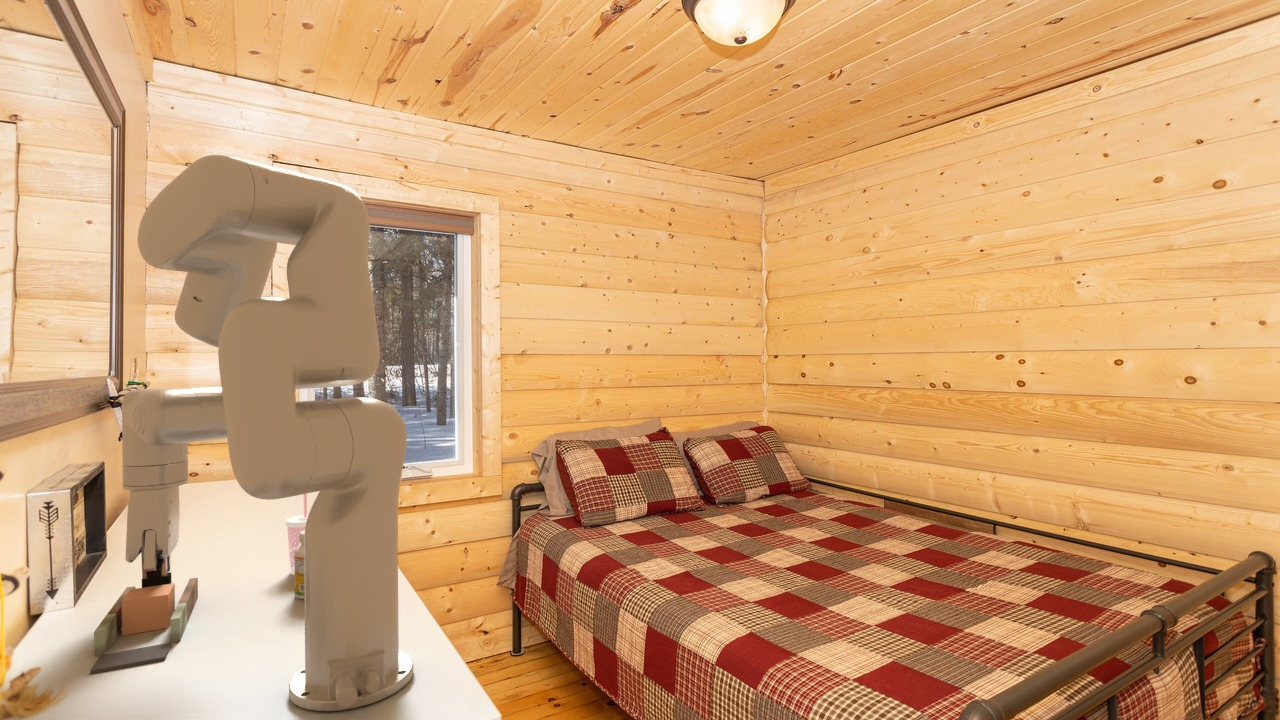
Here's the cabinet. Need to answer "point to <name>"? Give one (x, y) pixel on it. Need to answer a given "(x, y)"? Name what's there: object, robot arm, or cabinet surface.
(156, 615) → the block
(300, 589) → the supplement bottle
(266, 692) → the cabinet surface
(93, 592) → the cabinet surface
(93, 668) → the thin dark grey plate
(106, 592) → the cabinet surface
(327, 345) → the robot arm
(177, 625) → the pair of guide rails
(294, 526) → the beverage cup
